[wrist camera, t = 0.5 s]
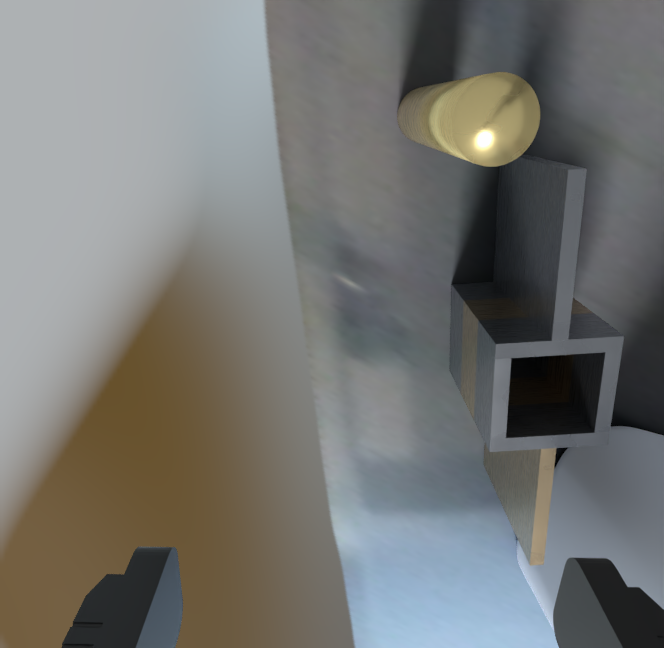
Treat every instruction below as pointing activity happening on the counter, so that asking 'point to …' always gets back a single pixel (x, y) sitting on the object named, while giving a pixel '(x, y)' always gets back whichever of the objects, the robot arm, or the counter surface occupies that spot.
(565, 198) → the hinge
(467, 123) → the hinge pin
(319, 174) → the counter surface
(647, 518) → the plastic bottle
